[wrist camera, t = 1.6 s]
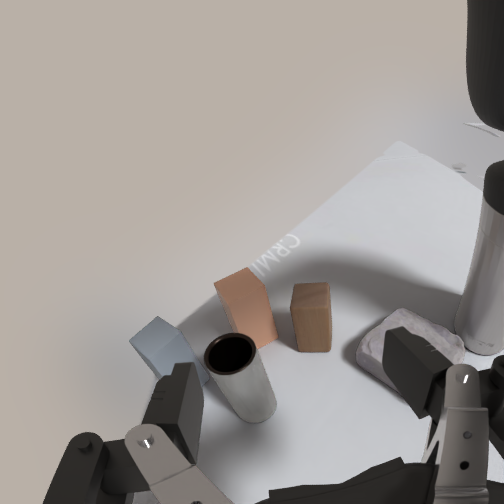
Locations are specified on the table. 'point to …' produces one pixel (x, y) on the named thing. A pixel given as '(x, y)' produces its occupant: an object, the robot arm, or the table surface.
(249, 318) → the terracotta block
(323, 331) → the wooden block
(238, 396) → the planter
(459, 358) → the stone block
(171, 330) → the slate-blue block
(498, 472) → the table surface
